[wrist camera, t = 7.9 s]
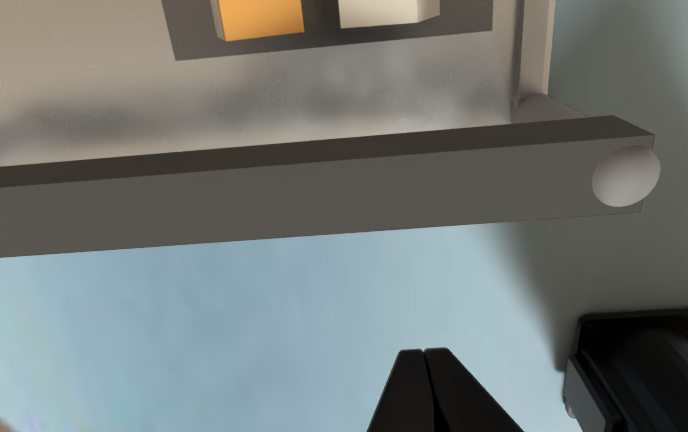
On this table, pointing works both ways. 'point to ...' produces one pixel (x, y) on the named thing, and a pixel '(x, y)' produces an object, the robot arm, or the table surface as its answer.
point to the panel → (253, 76)
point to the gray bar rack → (333, 185)
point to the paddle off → (256, 18)
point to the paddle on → (385, 12)
